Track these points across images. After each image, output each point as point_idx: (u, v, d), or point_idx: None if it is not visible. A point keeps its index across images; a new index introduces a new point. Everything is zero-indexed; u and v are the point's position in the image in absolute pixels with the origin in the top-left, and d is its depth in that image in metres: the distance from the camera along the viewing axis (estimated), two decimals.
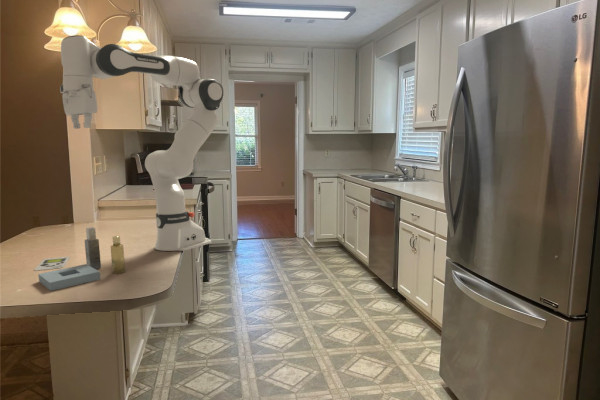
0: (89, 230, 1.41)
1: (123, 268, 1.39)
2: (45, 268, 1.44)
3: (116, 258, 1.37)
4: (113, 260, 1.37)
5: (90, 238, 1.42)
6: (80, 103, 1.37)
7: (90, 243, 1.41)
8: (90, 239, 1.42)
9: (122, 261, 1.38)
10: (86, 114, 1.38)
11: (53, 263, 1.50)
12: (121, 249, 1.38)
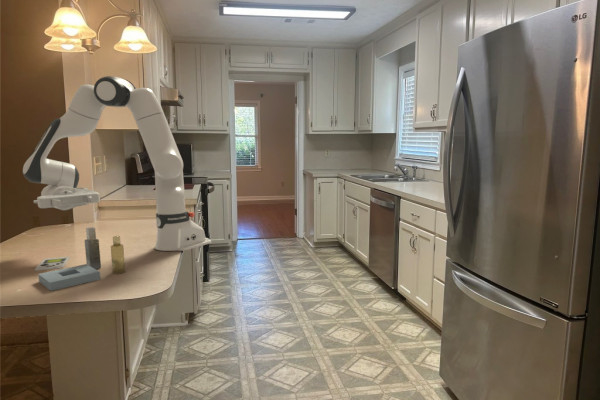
0: (89, 230, 1.41)
1: (123, 268, 1.39)
2: (45, 268, 1.44)
3: (116, 258, 1.37)
4: (113, 260, 1.37)
5: (90, 238, 1.42)
6: None
7: (91, 243, 1.41)
8: (90, 239, 1.42)
9: (122, 261, 1.38)
10: (52, 204, 1.48)
11: (53, 263, 1.50)
12: (121, 249, 1.38)
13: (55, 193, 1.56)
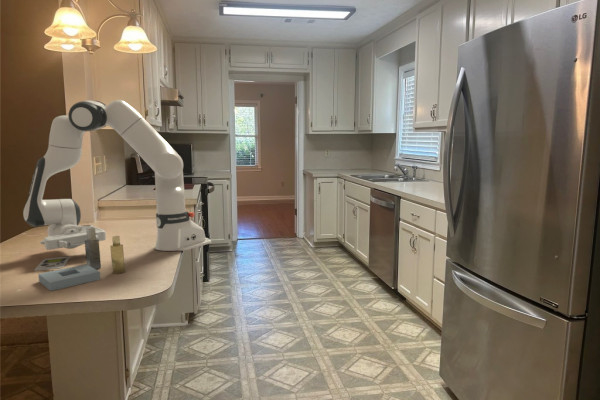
0: (89, 230, 1.41)
1: (123, 268, 1.39)
2: (45, 268, 1.44)
3: (116, 258, 1.37)
4: (113, 260, 1.37)
5: (90, 238, 1.42)
6: None
7: (90, 243, 1.41)
8: (90, 239, 1.42)
9: (122, 261, 1.38)
10: (58, 245, 1.49)
11: (53, 263, 1.50)
12: (121, 249, 1.38)
13: (61, 232, 1.56)
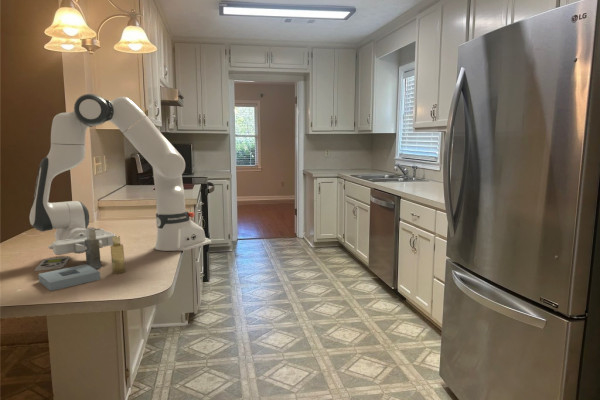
0: (89, 230, 1.41)
1: (123, 268, 1.39)
2: (45, 268, 1.44)
3: (116, 259, 1.37)
4: (113, 260, 1.37)
5: (90, 238, 1.42)
6: None
7: (91, 243, 1.41)
8: (90, 239, 1.42)
9: (122, 261, 1.38)
10: (75, 249, 1.43)
11: (53, 263, 1.50)
12: (121, 249, 1.38)
13: (70, 236, 1.49)
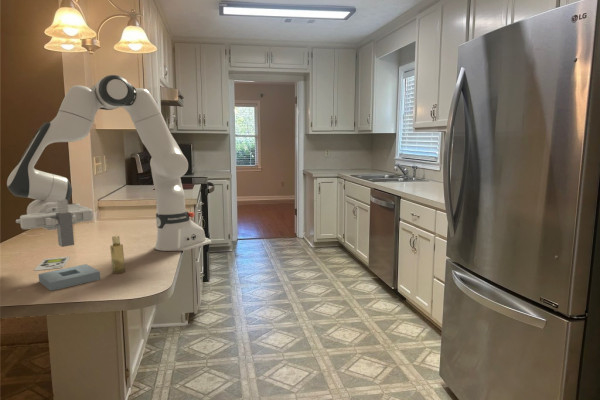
0: (60, 202, 1.27)
1: (123, 268, 1.39)
2: (45, 268, 1.44)
3: (115, 258, 1.37)
4: (113, 260, 1.37)
5: (61, 211, 1.28)
6: None
7: (62, 216, 1.27)
8: (61, 212, 1.28)
9: (122, 261, 1.38)
10: (45, 223, 1.29)
11: (53, 263, 1.50)
12: (121, 249, 1.38)
13: (41, 210, 1.35)
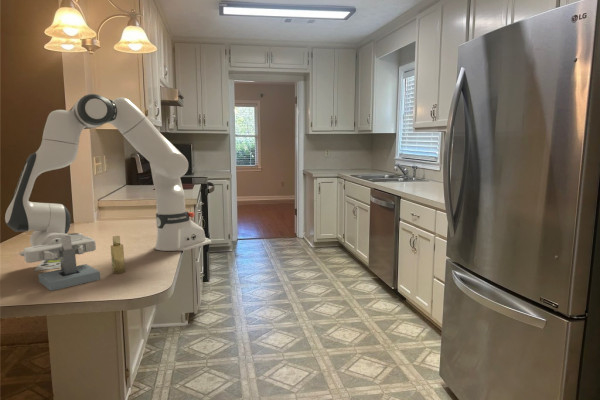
0: (64, 239, 1.29)
1: (123, 268, 1.39)
2: (45, 268, 1.44)
3: (115, 258, 1.37)
4: (113, 260, 1.37)
5: (65, 248, 1.29)
6: None
7: (65, 253, 1.29)
8: (65, 249, 1.29)
9: (122, 261, 1.38)
10: (44, 257, 1.29)
11: (53, 263, 1.50)
12: (121, 249, 1.38)
13: (45, 242, 1.36)
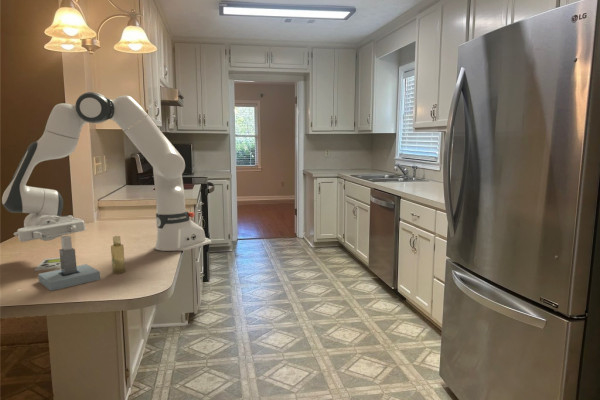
0: (64, 239, 1.29)
1: (123, 268, 1.39)
2: (45, 268, 1.44)
3: (116, 258, 1.37)
4: (113, 260, 1.37)
5: (65, 248, 1.29)
6: None
7: (66, 253, 1.29)
8: (65, 249, 1.29)
9: (122, 261, 1.38)
10: (33, 237, 1.39)
11: (53, 263, 1.50)
12: (121, 249, 1.38)
13: (37, 223, 1.46)
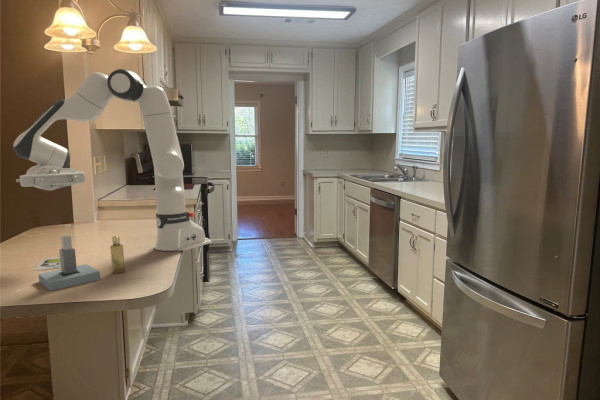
0: (64, 239, 1.29)
1: (123, 268, 1.39)
2: (45, 268, 1.44)
3: (115, 259, 1.37)
4: (112, 260, 1.37)
5: (65, 248, 1.29)
6: None
7: (66, 253, 1.29)
8: (65, 249, 1.29)
9: (121, 261, 1.38)
10: (35, 182, 1.42)
11: (53, 263, 1.50)
12: (120, 249, 1.37)
13: (39, 172, 1.50)
